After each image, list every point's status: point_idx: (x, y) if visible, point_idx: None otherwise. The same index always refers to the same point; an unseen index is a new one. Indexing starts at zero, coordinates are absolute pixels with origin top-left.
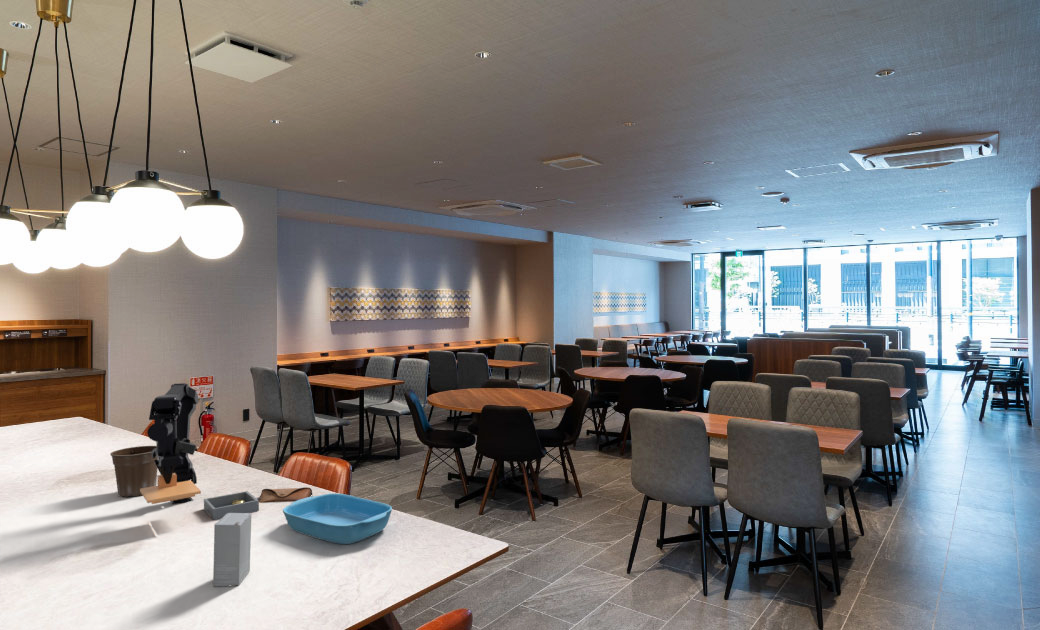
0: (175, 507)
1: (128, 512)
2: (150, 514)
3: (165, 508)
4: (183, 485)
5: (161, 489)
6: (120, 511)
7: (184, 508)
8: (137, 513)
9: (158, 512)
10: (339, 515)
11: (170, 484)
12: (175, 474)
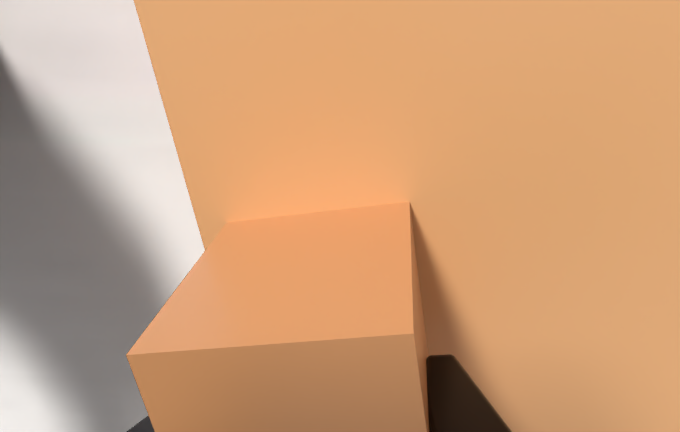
0: (41, 85)
1: (56, 375)
2: (166, 265)
3: (43, 161)
4: (494, 77)
5: (532, 428)
6: (16, 409)
7: (102, 10)
8: (102, 334)
9: (137, 213)
10: None
11: (423, 324)
12: (343, 358)
